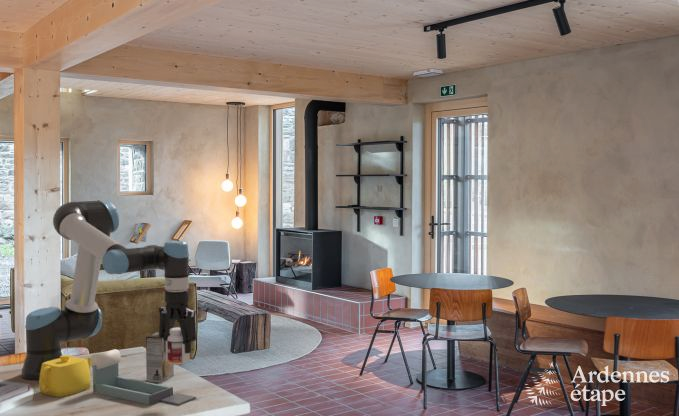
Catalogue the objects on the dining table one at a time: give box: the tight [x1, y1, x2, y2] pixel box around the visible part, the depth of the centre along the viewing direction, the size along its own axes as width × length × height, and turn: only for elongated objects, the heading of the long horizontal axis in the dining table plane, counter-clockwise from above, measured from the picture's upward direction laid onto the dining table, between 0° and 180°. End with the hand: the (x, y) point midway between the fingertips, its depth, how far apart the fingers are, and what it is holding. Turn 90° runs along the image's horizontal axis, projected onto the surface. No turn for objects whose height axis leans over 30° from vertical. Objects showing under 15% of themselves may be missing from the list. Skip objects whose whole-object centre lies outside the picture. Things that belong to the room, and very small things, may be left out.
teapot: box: [38, 354, 92, 398], centre depth 246 cm, size 20×12×12 cm, turn 147°
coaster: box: [160, 392, 197, 406], centre depth 235 cm, size 8×8×1 cm
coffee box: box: [145, 331, 175, 383], centre depth 259 cm, size 9×6×16 cm
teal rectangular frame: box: [90, 348, 174, 406], centre depth 241 cm, size 28×10×12 cm, turn 60°
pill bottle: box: [167, 326, 184, 366], centre depth 234 cm, size 6×6×11 cm
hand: (177, 361), depth 235 cm, fingers closed on pill bottle, 6 cm apart
